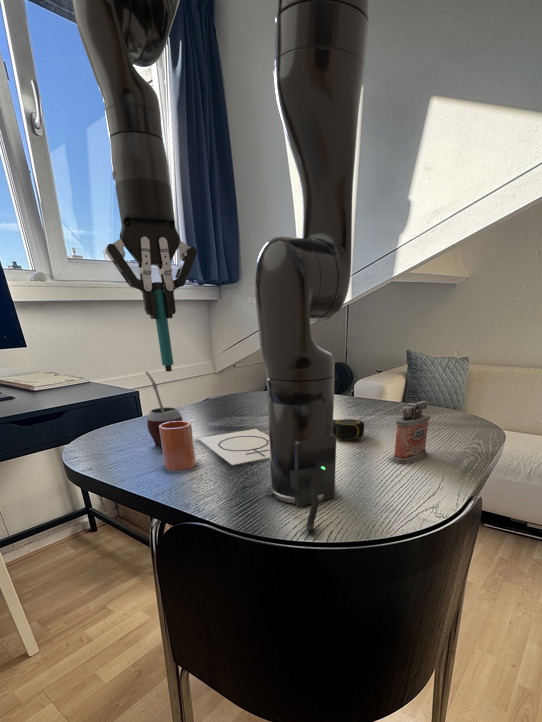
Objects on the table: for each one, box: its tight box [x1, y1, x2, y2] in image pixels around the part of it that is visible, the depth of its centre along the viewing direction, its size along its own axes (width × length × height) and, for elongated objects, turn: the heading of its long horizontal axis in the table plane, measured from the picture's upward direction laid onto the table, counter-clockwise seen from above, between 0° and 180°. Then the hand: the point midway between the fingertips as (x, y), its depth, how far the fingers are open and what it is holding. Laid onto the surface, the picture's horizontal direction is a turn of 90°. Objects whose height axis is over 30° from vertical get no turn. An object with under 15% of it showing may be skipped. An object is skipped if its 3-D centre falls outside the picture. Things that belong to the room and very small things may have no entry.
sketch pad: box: [197, 428, 270, 466], centre depth 85 cm, size 20×14×1 cm
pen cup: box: [159, 420, 197, 472], centre depth 73 cm, size 5×5×8 cm
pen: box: [152, 281, 174, 373], centre depth 65 cm, size 2×2×13 cm
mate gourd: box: [145, 371, 184, 452], centre depth 83 cm, size 8×8×15 cm
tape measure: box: [333, 418, 365, 441], centre depth 87 cm, size 7×7×4 cm
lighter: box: [392, 400, 431, 464], centre depth 74 cm, size 8×3×10 cm, turn 129°
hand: (161, 318), depth 64 cm, fingers closed on pen, 2 cm apart
